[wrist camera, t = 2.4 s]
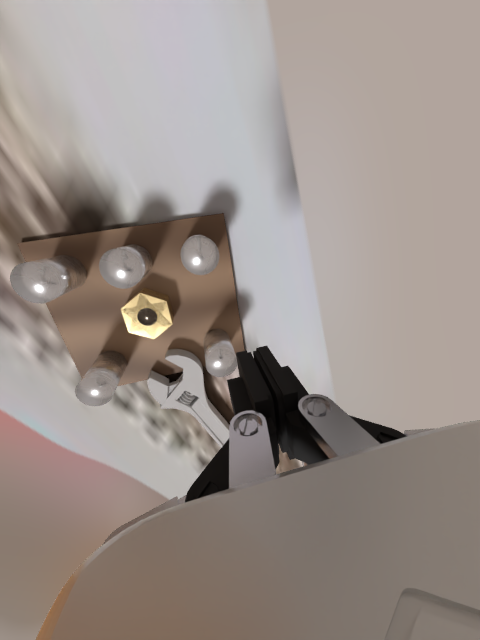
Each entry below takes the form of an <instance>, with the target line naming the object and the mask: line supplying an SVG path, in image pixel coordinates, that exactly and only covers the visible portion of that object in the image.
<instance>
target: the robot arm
mask: <svg viewBox="0 0 480 640" xmlns="http://www.w3.org/2000/svg"><path fill="white" fill-rule="evenodd" d="M253 355H254V358H253V356H252V354H251V352H249V353H247V351H246V350H245V351H241V352H236V358H237V363H238V369H239V375H240V377H238V378H234V379H230V380H227V382H228V387H229V392H230V397H231V402H232V406H233V411H234V415H235V416H234V417H233V418H232V420H231V422H230V426H229V439H228V440H227V441H226V443H225V444H224V445H223V446H222V448H221V449H220V450H219V452H218V453H217V454H216V455H215V457H214V458H213V459H212V460H211V462H210V463H209V464H208V465H207V467H206V468H205V469H204V471H203V472H202V473H201V474H200V476H199V477H198V478H197V479H196V481H195V482H194V483H193V485H192V486H191V487H190V489H189V491H188V492H187V495H186V496H184V497H182V498H180V499H178V497H175V498H173V499H171V500H169V501H167V502H165V503H164V504H162V505H160V506H158V507H156V508H154V509H152V510H150V511H149V512H147V513H145V514H143V515H141V516H139V517H137V518H135V519H134V520H132V521H130V522H128V523H126V524H124V525H122V526H121V527H119V528H118V529H116V530H115V531H114V532H112V533H111V535H110V536H109V537H108V538H107V539H106V540H105V542H104V544H103V545H102V546H101V547H100V548H98V549H97V550H96V551H95V552H94V553H92V554H91V555H90V556H89V557H88V558H87V559H86V560H85V561H84V562H83V563H82V564H81V565H80V566H79V567H78V568H77V569H76V570H75V572H74V573H73V574H72V575H71V576H70V578H69V579H68V581H67V582H66V584H65V585H64V586H63V588H62V589H61V591H60V593H59V594H58V596H57V598H56V600H55V601H54V603H53V605H52V607H51V609H50V611H49V613H48V614H47V617H46V619H45V621H44V623H43V625H42V627H41V629H40V631H39V633H38V635H37V637H36V640H480V420H478V421H470V422H463V423H459V424H454V425H450V426H445V427H441V428H437V429H420V430H405V431H404V434H403V433H401V432H399V431H397V430H395V429H392V428H389V427H385V426H382V425H379V424H375V423H372V422H369V421H365V420H362V419H359V418H356V417H352V416H349V415H348V414H347V413H345V412H344V411H343V410H342V409H341V408H340V407H339V406H338V405H336V404H335V403H334V402H333V401H332V400H331V399H329V398H328V397H326V396H323V395H319V394H310V395H309V394H308V392H307V391H306V390H305V388H304V387H303V386H302V384H301V383H300V381H299V380H298V379H297V377H296V376H295V375H294V373H293V372H292V370H291V369H290V368H289V367H288V366H285V367H281V366H280V365H279V363H278V362H277V360H276V359H275V357H274V356H273V354H272V353H271V351H270V350H269V348H268V347H267V346H264V347H259V348H256V351H253ZM278 443H279V445H278ZM279 446H280V448H281V451H282V452H283V453H284V452H287V454H288V457H289V459H290V460H291V459H295V458H296V459H298V460H300V461H302V465H303V467H300V468H297V469H293V470H290V471H287V472H283V473H280V474H277V475H276V468H277V466H278V464H279Z"/></svg>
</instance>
